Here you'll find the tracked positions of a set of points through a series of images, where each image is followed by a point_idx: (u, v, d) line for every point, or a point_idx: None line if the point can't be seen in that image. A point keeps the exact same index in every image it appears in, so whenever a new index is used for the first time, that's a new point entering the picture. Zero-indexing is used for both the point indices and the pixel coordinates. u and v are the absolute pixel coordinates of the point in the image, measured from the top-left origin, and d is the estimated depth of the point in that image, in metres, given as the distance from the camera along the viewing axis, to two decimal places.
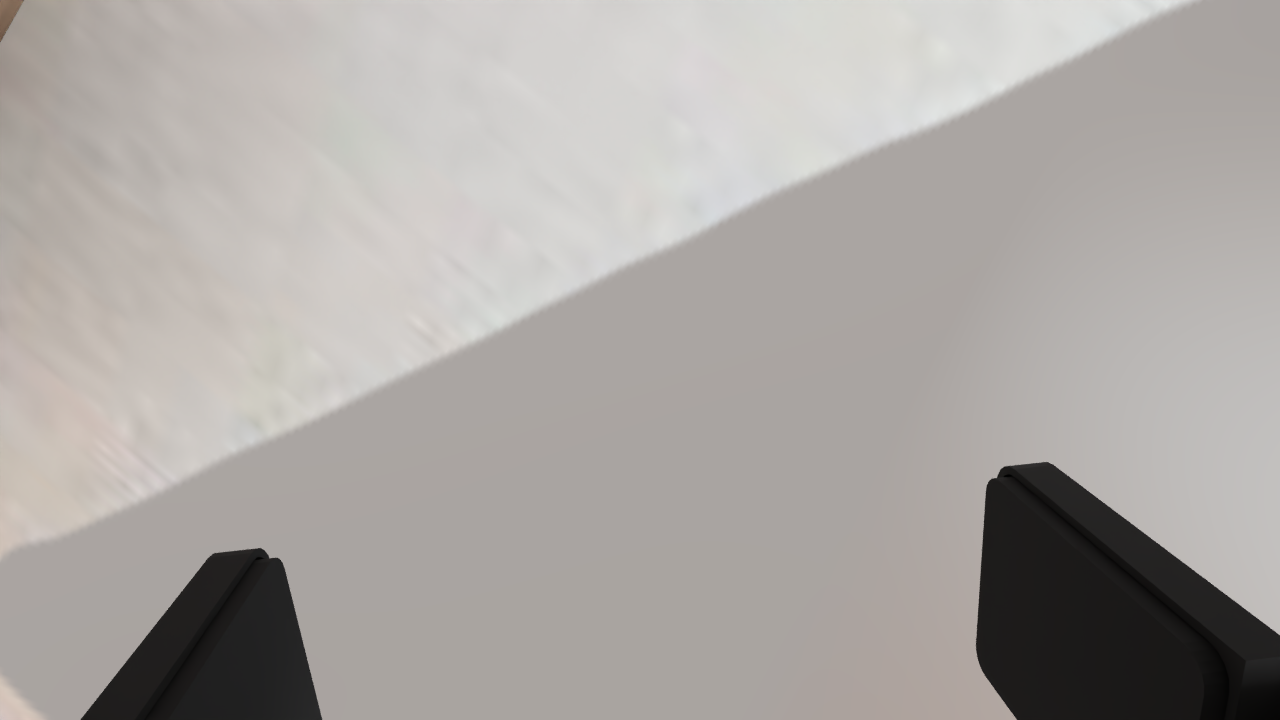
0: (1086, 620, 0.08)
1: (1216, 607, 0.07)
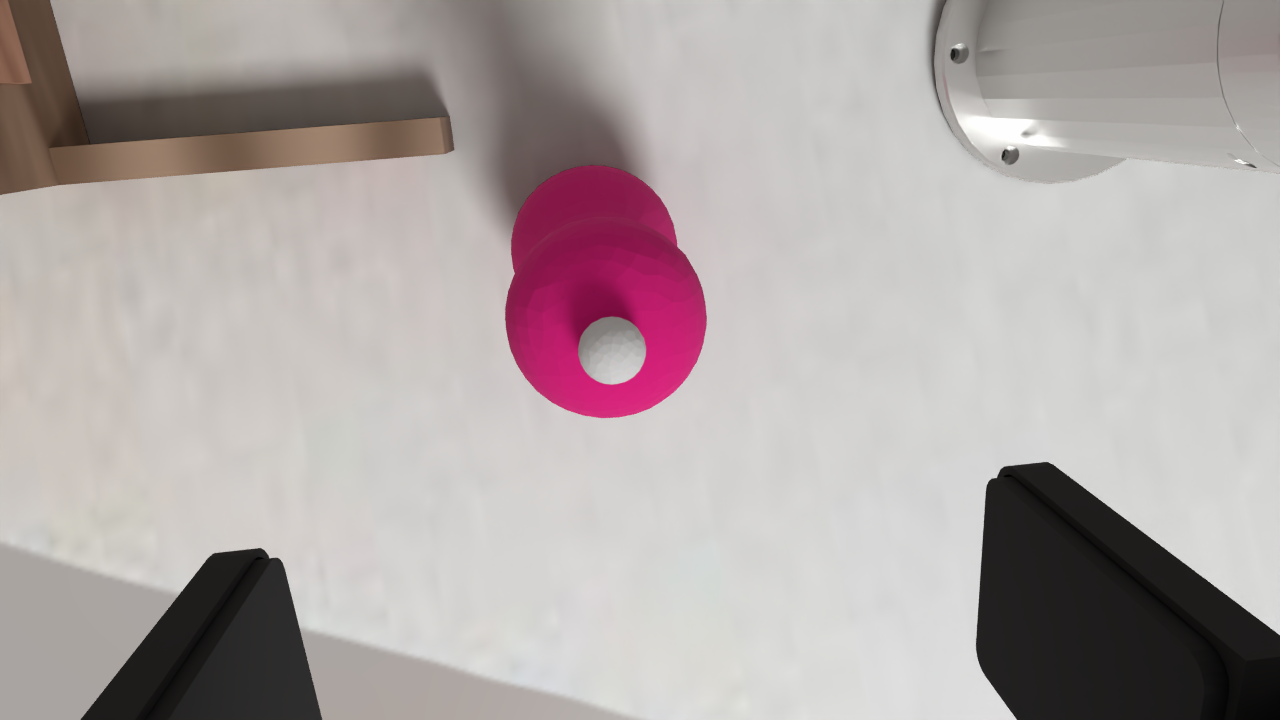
0: (1086, 620, 0.08)
1: (1216, 607, 0.07)
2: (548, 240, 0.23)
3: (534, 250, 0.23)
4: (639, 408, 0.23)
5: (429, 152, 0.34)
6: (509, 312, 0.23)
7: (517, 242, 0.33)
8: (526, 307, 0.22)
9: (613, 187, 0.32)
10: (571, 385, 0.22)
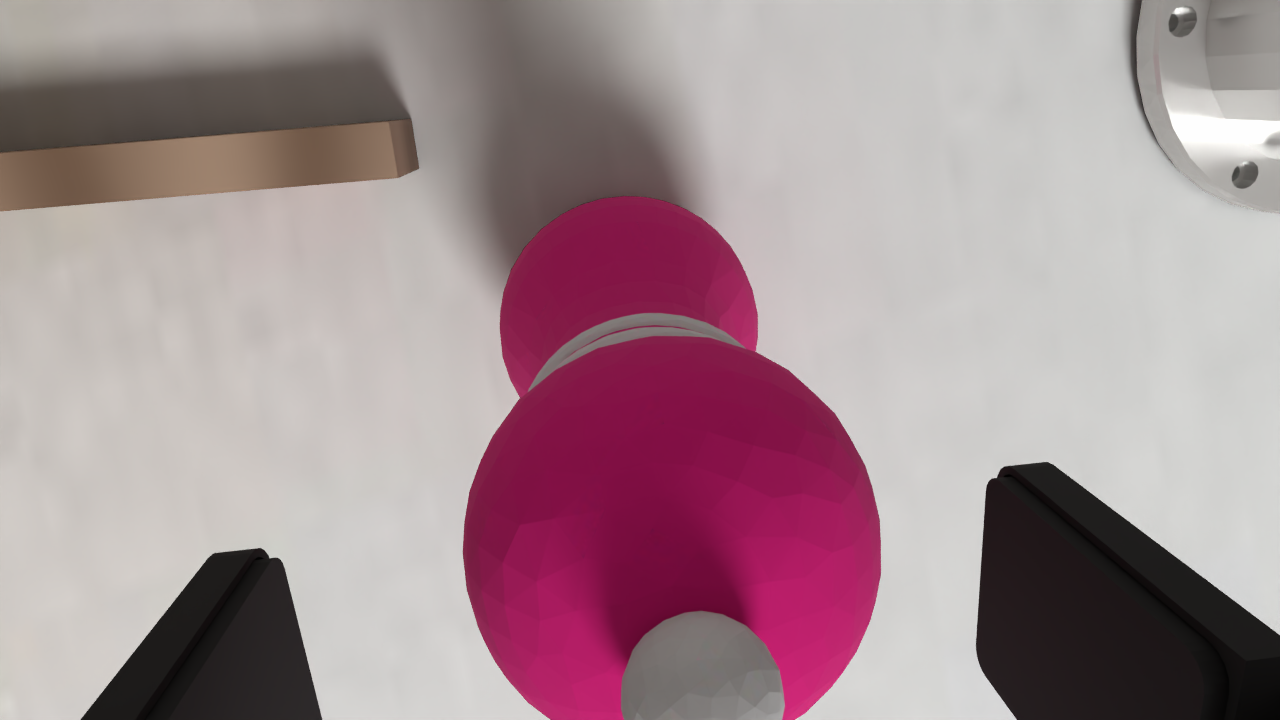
0: (1086, 620, 0.08)
1: (1216, 607, 0.07)
2: (551, 398, 0.10)
3: (522, 417, 0.11)
4: None
5: (374, 175, 0.22)
6: (468, 550, 0.11)
7: (507, 321, 0.21)
8: (501, 558, 0.10)
9: (662, 236, 0.20)
10: None
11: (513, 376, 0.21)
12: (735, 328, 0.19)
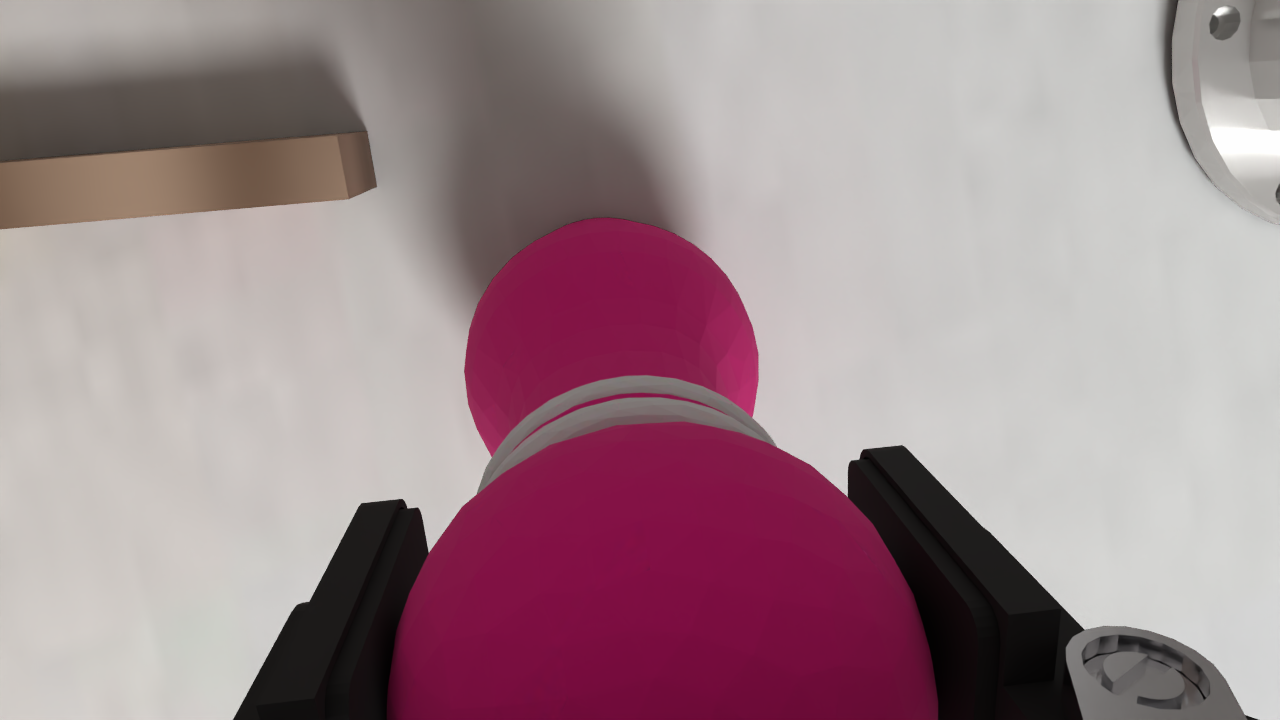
0: (910, 587, 0.09)
1: (1001, 570, 0.08)
2: (499, 520, 0.08)
3: (461, 542, 0.08)
4: None
5: (321, 196, 0.20)
6: None
7: (472, 365, 0.18)
8: None
9: (649, 269, 0.17)
10: None
11: (479, 428, 0.18)
12: (734, 375, 0.17)
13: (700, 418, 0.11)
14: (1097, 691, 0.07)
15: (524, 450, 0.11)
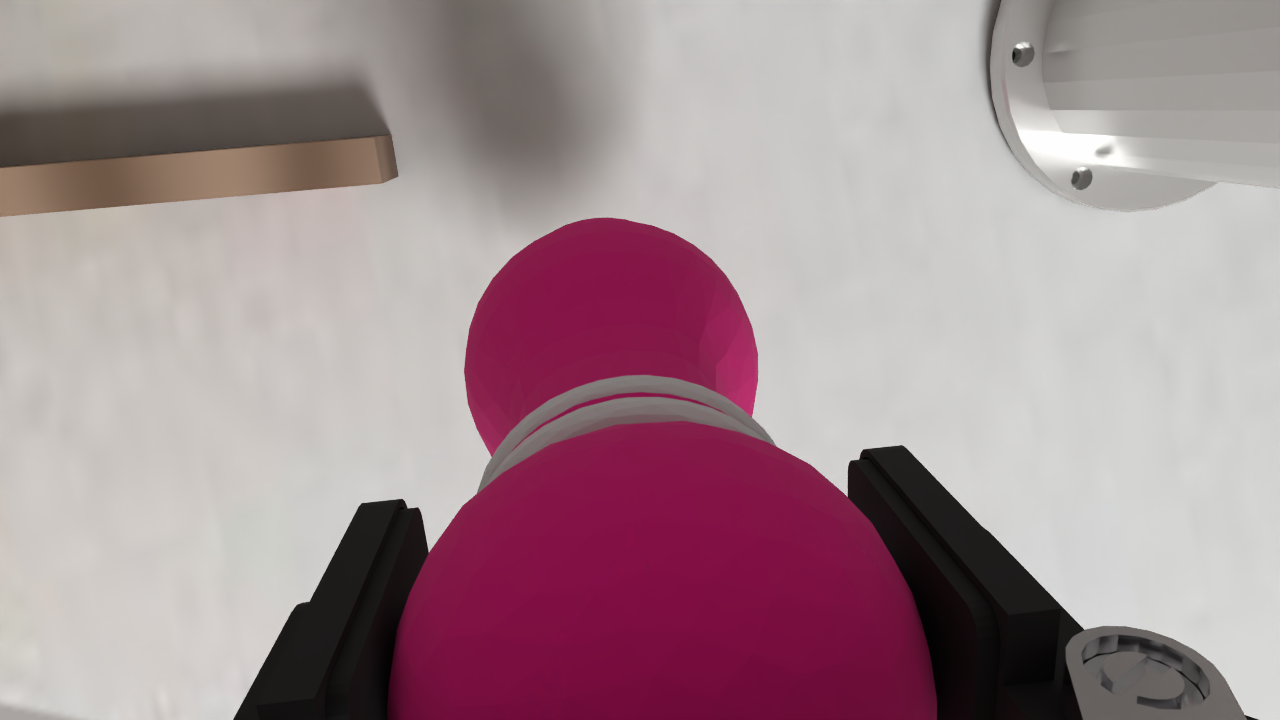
0: (910, 587, 0.09)
1: (1000, 570, 0.08)
2: (500, 519, 0.08)
3: (461, 541, 0.08)
4: None
5: (362, 181, 0.27)
6: None
7: (472, 365, 0.18)
8: None
9: (648, 269, 0.17)
10: None
11: (479, 428, 0.18)
12: (734, 375, 0.17)
13: (700, 418, 0.11)
14: (1096, 691, 0.07)
15: (524, 450, 0.11)
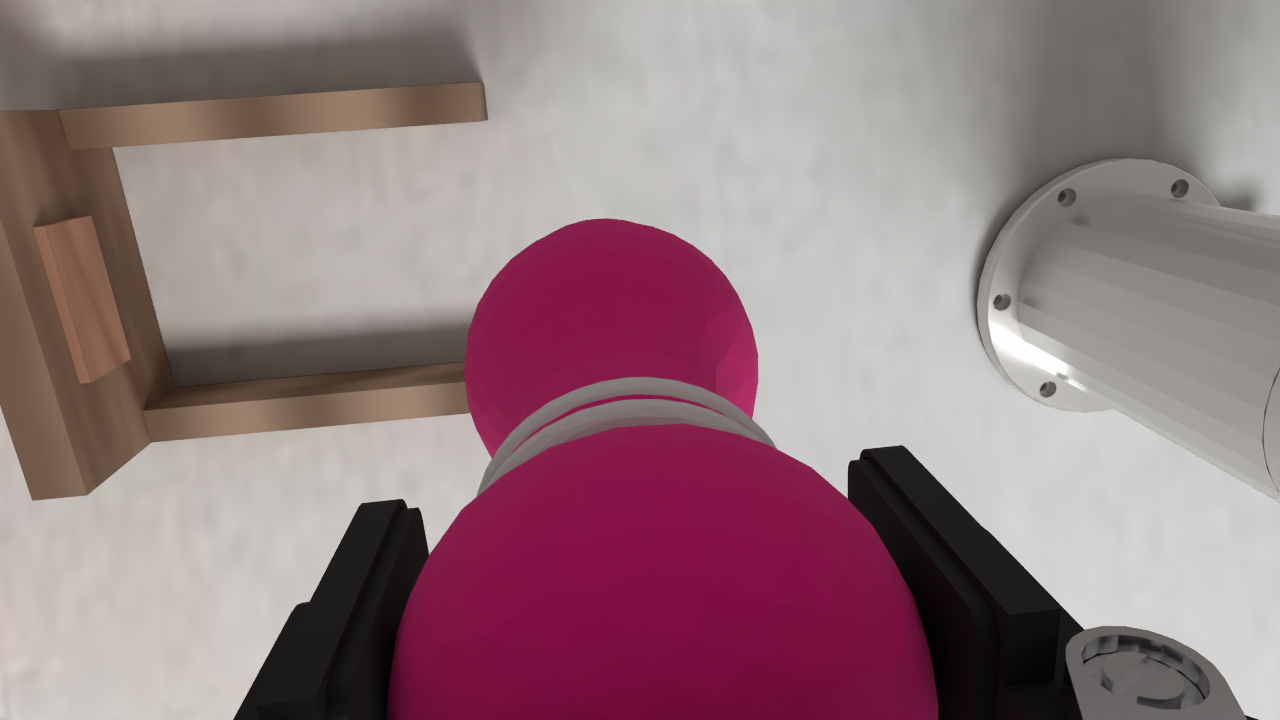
0: (910, 586, 0.09)
1: (1001, 570, 0.08)
2: (500, 522, 0.08)
3: (461, 545, 0.08)
4: None
5: None
6: None
7: (471, 367, 0.18)
8: None
9: (649, 270, 0.17)
10: None
11: (479, 429, 0.18)
12: (734, 376, 0.17)
13: (700, 420, 0.11)
14: (1097, 691, 0.07)
15: (524, 452, 0.11)
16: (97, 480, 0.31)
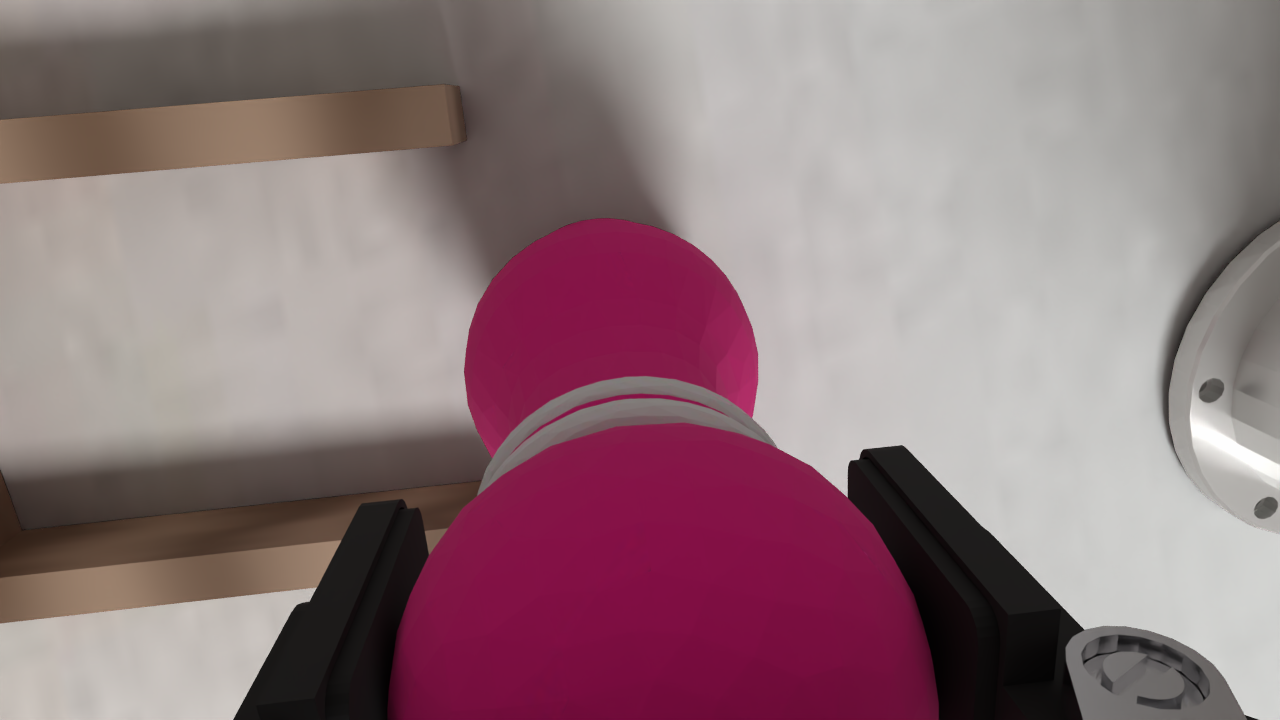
0: (910, 587, 0.09)
1: (1000, 570, 0.08)
2: (500, 521, 0.08)
3: (461, 544, 0.08)
4: None
5: None
6: None
7: (472, 366, 0.18)
8: None
9: (649, 270, 0.17)
10: None
11: (479, 429, 0.18)
12: (734, 376, 0.17)
13: (700, 419, 0.11)
14: (1096, 691, 0.07)
15: (524, 451, 0.11)
16: None
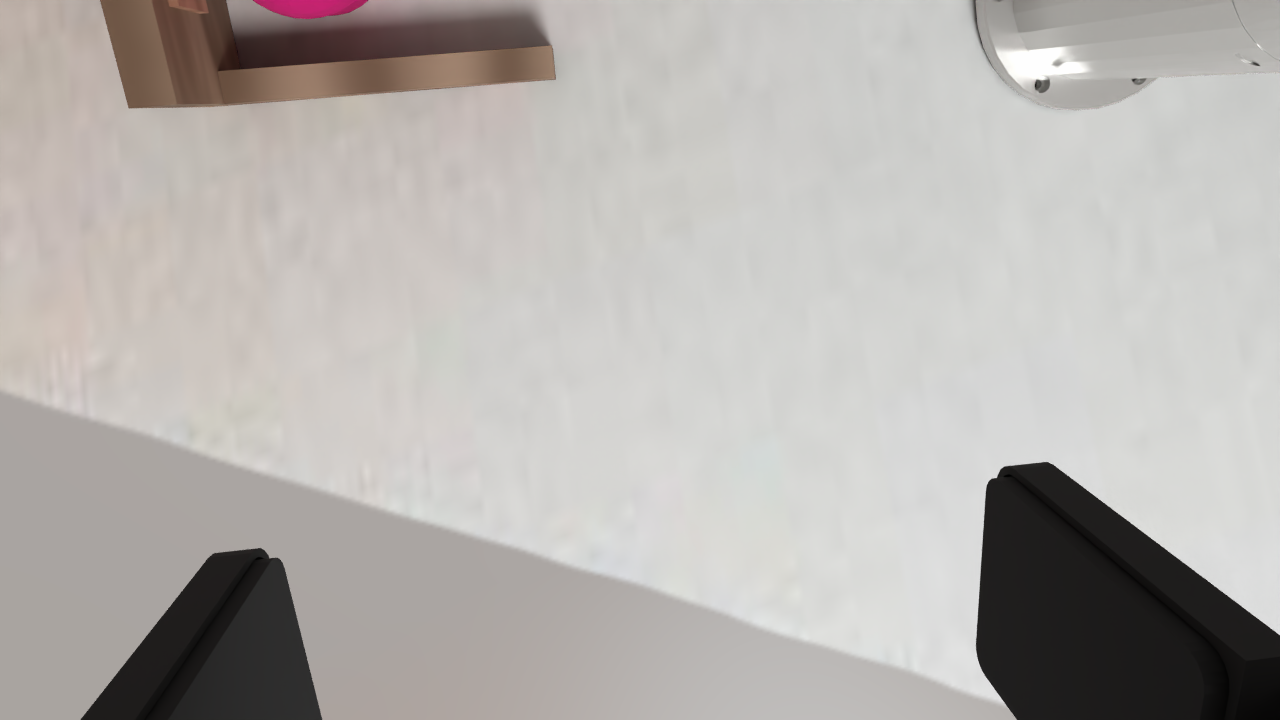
0: (1086, 620, 0.08)
1: (1216, 607, 0.07)
2: None
3: None
4: None
5: (541, 76, 0.40)
6: None
7: None
8: None
9: None
10: None
11: None
12: None
13: None
14: None
15: None
16: (184, 99, 0.35)
